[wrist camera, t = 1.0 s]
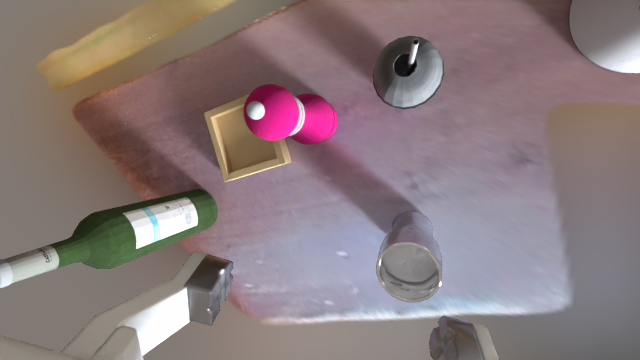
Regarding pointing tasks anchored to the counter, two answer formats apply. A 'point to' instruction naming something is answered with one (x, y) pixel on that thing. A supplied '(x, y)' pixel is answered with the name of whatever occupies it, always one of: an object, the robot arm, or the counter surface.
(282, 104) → the pepper mill
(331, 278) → the counter surface
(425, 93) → the beverage cup
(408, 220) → the beer glass
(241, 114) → the tray
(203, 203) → the wine bottle
